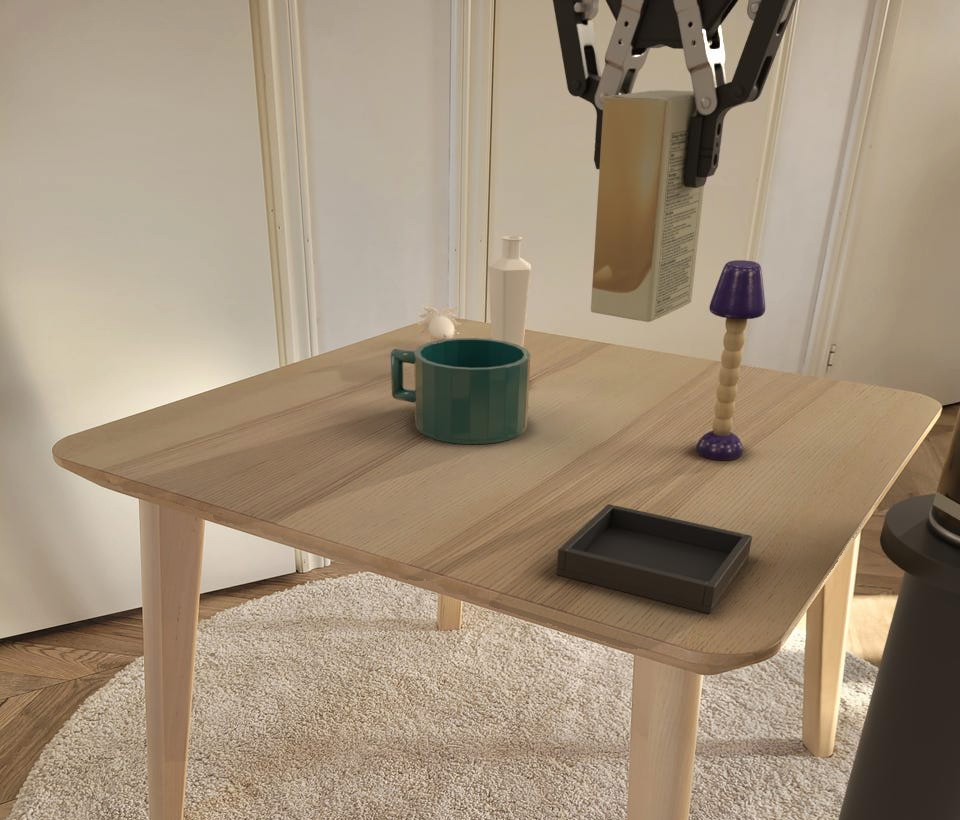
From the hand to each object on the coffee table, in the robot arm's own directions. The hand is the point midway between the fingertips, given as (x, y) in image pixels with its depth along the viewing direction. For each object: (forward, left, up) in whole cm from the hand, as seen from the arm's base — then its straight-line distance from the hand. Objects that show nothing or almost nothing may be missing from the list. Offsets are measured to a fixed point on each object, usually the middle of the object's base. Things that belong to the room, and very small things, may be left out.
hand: (653, 181), depth 60 cm
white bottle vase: (+26, -34, -25) cm, 50 cm away
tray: (-3, 0, -25) cm, 25 cm away
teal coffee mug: (+25, -20, -25) cm, 41 cm away
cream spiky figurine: (+38, -40, -25) cm, 61 cm away
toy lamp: (0, -25, -25) cm, 36 cm away
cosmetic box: (0, 0, -8) cm, 8 cm away
